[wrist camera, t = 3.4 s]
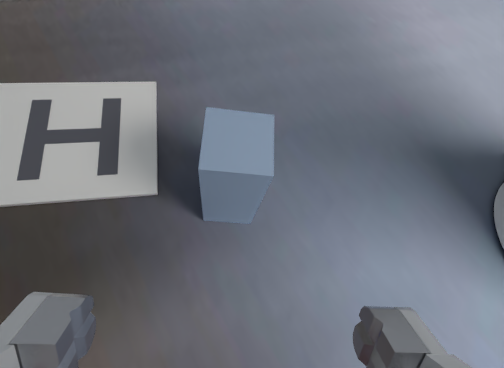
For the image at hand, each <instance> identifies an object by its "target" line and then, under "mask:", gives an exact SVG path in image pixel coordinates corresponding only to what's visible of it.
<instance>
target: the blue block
mask: <svg viewBox="0 0 504 368" xmlns="http://www.w3.org/2000/svg"><path fill="white" fill-rule="evenodd" d="M198 172H199V182H200V192H201V202H202V212H203V221H217V222H230V223H244V224H250V223H251V221H252V219H253V217H254V215H255V213H256V211H257V209H258V207H259V205H260V203H261V201H262V199H263V197H264V195H265V193H266V191H267V189H268V187H269V185H270V183H271V181H272V179H273V177H274V115H271V114H262V113H254V112H245V111H236V110H228V109H219V108H210V107H206V113H205V121H204V128H203V136H202V144H201V152H200V160H199V168H198Z"/></svg>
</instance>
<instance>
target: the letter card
mask: <svg viewBox="0 0 504 368" xmlns="http://www.w3.org/2000/svg"><path fill="white" fill-rule="evenodd" d="M150 195H158V167H157V84H156V82H74V83H0V207H7V206H20V205H33V204H46V203H59V202H72V201H85V200H98V199H111V198H124V197H137V196H150Z"/></svg>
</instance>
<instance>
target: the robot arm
mask: <svg viewBox="0 0 504 368" xmlns="http://www.w3.org/2000/svg"><path fill="white" fill-rule="evenodd" d="M494 220H495V226H496V230H497V233H498V237H499V239H500V242H501V244H502V247H503V249H504V183H503V184H502V185H501V187H500V188H499V190H498V192H497V195H496V198H495V203H494ZM93 306H94V302H93V296H90V295H80V294H65V293H44V292H33V293H31V294H29V295H27V296H26V297H25V298H24V300H23V301H22V302H21V303H20V304H19V305H18V306H17V307H16V308H15V309H14V311H13V312H12V313H11V314H10V315H9V316H8V317H7V318H6V319H5V320H4V321H3V323H2V324H1V325H0V368H78V360H79V359H80V358H82V357H83V356H84V355H86V354H87V352H88V350H89V348H90V346H91V344H92V341H93V338H94V335H95V329H96V319H95V316H94V315H93V314H92V313H91V310H92V308H93ZM359 317H360V319H361V320H362V321H361V322H359V323H358V324H357V325H356V326H355V328H354V332H353V345H354V349H355V352H356V354H357V357H358V359H359V360H360V361H361V362H362V363H363V364H365V365H366V368H472V367H470V366H469V365H467V364H466V363H464V362H463V361H462V360H460V359H459V358H457V357H456V356H454V355H449V354H448V353H447V352H446V351H445V350H444V348H443V347H442V346H441V344H440V343H439V342H438V340H437V339H436V338H435V337H434V335H433V334H432V333H431V331H430V330H429V329H428V327H427V326H426V325H425V323H424V322H423V321H422V320H421V318H420V317H419V316H418V314H417V313H416V312H415V311H414V310H413V309H411V308H410V307H375V306H364V307H363V308H362V309H361V311H360V314H359Z"/></svg>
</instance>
